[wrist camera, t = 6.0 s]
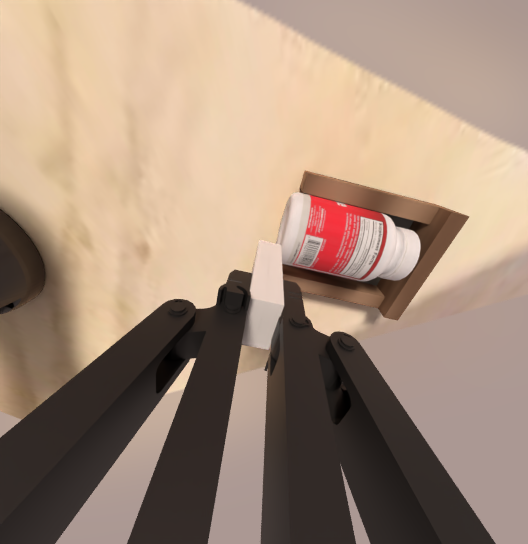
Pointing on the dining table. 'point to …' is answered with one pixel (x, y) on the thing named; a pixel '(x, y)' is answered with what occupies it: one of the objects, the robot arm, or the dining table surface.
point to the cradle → (404, 213)
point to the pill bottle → (345, 240)
